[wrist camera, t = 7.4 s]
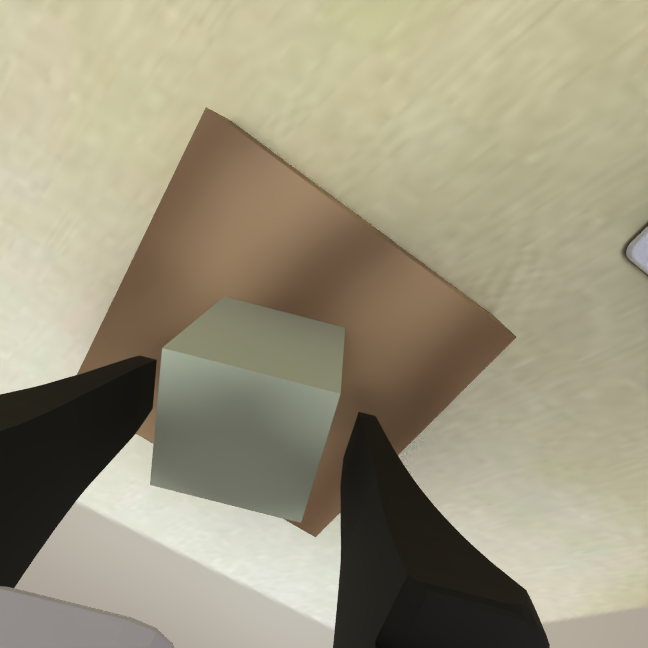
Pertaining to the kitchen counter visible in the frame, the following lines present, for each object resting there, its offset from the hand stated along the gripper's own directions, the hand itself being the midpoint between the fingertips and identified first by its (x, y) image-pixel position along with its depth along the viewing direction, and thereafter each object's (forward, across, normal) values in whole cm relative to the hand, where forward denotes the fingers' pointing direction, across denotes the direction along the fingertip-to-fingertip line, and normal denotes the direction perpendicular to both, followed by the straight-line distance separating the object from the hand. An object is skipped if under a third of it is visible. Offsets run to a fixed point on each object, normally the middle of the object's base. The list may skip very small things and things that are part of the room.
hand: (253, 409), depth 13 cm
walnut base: (+6, 0, 0) cm, 6 cm away
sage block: (+3, 0, 0) cm, 3 cm away
